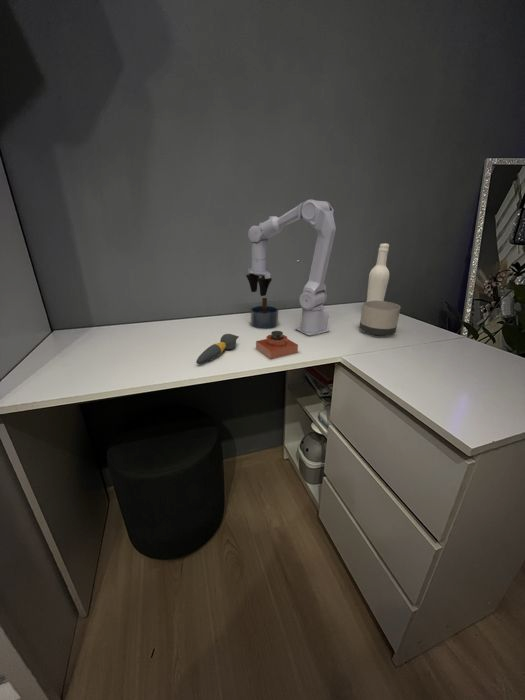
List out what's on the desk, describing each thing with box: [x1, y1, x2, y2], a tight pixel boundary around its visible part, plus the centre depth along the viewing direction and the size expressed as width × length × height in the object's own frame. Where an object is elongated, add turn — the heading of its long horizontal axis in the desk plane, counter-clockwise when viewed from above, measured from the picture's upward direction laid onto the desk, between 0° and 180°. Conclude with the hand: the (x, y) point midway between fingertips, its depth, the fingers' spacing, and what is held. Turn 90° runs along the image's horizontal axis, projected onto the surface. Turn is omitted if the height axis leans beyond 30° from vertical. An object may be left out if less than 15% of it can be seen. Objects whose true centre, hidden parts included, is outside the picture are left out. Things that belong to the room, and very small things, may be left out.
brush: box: [258, 297, 271, 313], centre depth 117 cm, size 6×6×10 cm
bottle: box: [366, 243, 390, 301], centre depth 124 cm, size 8×8×30 cm
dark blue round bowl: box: [250, 305, 279, 330], centre depth 118 cm, size 11×11×6 cm
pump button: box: [270, 330, 284, 340], centre depth 93 cm, size 4×4×2 cm
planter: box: [358, 300, 401, 337], centre depth 109 cm, size 13×13×10 cm
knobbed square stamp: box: [255, 334, 299, 360], centre depth 94 cm, size 10×9×4 cm
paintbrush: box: [195, 333, 240, 365], centre depth 91 cm, size 20×5×5 cm, turn 155°
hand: (258, 293), depth 122 cm, fingers open, 7 cm apart
